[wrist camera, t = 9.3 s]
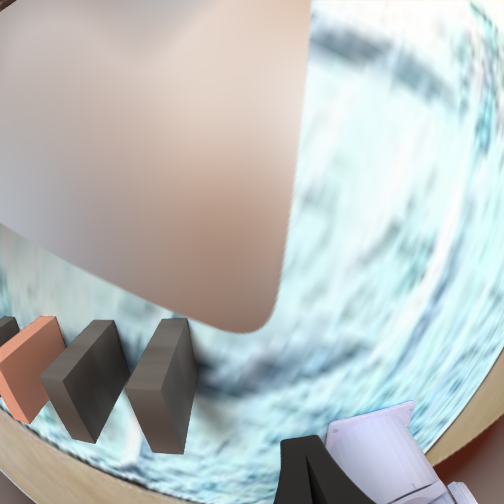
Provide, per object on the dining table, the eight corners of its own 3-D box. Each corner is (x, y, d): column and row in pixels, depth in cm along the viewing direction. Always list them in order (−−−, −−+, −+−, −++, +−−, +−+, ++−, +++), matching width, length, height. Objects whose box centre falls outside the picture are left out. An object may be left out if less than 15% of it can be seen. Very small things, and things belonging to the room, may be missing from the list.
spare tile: (73, 368, 18) (29, 424, 11) (58, 366, 18) (14, 418, 11) (55, 316, 17) (-2, 364, 10) (40, 316, 17) (-16, 360, 10)
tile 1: (197, 375, 18) (183, 454, 11) (174, 376, 18) (152, 452, 11) (186, 317, 17) (160, 389, 10) (161, 318, 17) (124, 388, 10)
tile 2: (130, 375, 18) (95, 443, 11) (110, 373, 18) (72, 438, 11) (113, 319, 17) (62, 381, 10) (93, 319, 17) (39, 377, 10)
